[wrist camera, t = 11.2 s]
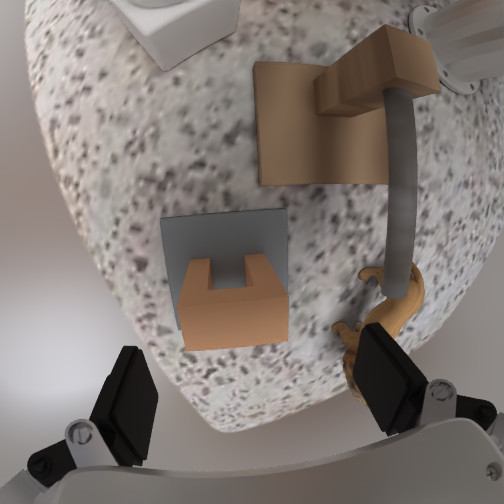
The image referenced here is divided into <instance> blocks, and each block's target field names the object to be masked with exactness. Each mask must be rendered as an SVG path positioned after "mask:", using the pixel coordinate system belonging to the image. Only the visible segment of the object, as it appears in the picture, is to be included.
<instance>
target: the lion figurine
mask: <svg viewBox="0 0 504 504" xmlns="http://www.w3.org/2000/svg"><path fill="white" fill-rule="evenodd" d="M383 271H384V269H383V268H381V267H378V268H365V269H363V270H362V271H360V273H359V278H360V279H361V280H363V281H367V280H368V279H369V278H370V277H371V276H375V277H376V278H377V279H378V282H379V284H380V287H382V279H383ZM412 274H413V275H414V276H413V275H412ZM424 295H425V290H424V282H423V278H422V275H421V273H420V271H419V269H418V268H417V266H416V265H415V264H414V263H413V262H412V265H411V273H410V279H409V285H408V291H407V295H406V297H404V298H400V299H394V298H389V297H387V299H386V300H385V301H383V302H381V303H380V304H378V305H377V306H376V307H375V308H373V309H372V310H371V312H370V313H369V314H368V315H367V317H366V318H365V320H364V322H358V323H356V324H355V326H354V328H353V330H354V332H352V331H351V330H350V329H349V328H348V327H347V325H346V324H344V323H341V322H338V323H335V324H334V325H333V326H332V331H333V332H334V333H340V334H341V337H342V340H343V342H344V343H345V345H346V346H347V349H346V351H345V354H344V356H343V362H344V364H343V370H344V372H345V375H346V380H347V383H348V385H349V387H350V390H351V391H352V394H353V396H354V397H355V398H356V399H357V400H358V401H359V402H361V403H363V404H366V406H367V407H368V405H367V403H366V401H365V400H364V398H363V396H362V394H361V392H360V390H359V389H358V387H357V385H356V383H355V381H354V380H353V377H352V371H353V367H354V363H355V358H356V354H357V349H358V344H359V339H360V334H361V330H362V328H364V327H365V325H366V324H369V323H374V322H379V323H380V324H381V325H382V326H383V327H384V329H385V330H386V331H387V332H388V333H389V334H390V335H391V337H392V338H393V339H395V338H396V336H397V334H398V333H399V331H400V329H401V328H402V327H403V325H404V324H405V323H406V321H407V320H408V319H409V318H410V317H411V316H413V315H414V314H415V313H416V312H417V311H418V309H419V308H420V306H421V305H422V303H423V299H424ZM368 408H369V407H368Z"/></svg>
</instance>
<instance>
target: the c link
mask: <svg viewBox="0 0 504 504" xmlns="http://www.w3.org/2000/svg"><path fill="white" fill-rule="evenodd" d="M245 270H246V285H247V287H240V288H229V289H218V290H213V283H212V274H211V265H210V258H206V259H195V260H190V262H189V265H188V269H187V272H186V275H185V279H184V283H183V286H182V290H181V293H180V297H179V301H178V304H177V310H178V315H179V320H180V325H181V330H182V335H183V339H184V344H185V348H186V351H200V350H214V349H226V348H236V347H246V346H255V345H263V344H271V343H278V342H285V341H288V315H289V296H288V294H287V293H286V291H285V289H284V287H283V285H282V284H281V282H280V280H279V278H278V277H277V275H276V273H275V271H274V270H273V268H272V266H271V264H270V263H269V261H268V259H267V257H266V256H265V254H264V253H262V254H251V255H245Z"/></svg>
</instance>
